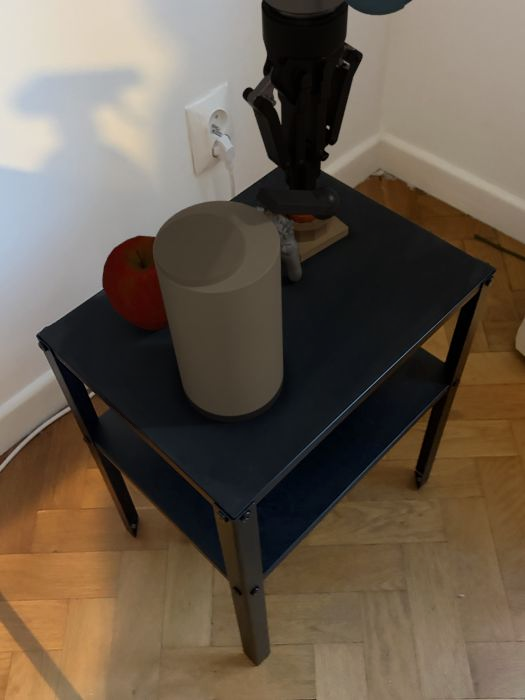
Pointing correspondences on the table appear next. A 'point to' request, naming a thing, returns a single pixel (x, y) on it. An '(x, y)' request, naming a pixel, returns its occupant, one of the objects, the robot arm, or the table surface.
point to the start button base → (315, 234)
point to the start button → (301, 218)
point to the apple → (135, 283)
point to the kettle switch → (300, 201)
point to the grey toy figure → (287, 245)
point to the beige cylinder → (223, 306)
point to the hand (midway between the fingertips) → (302, 204)
